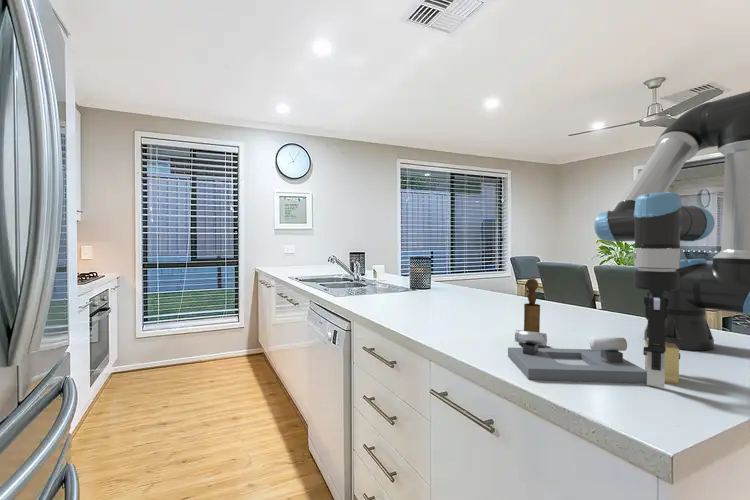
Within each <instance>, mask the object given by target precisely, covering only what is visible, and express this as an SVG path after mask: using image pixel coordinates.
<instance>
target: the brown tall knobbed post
mask: <svg viewBox="0 0 750 500" xmlns="http://www.w3.org/2000/svg"><path fill="white" fill-rule="evenodd" d="M525 282H526V283H525V286H526V288H527V290H528V295H527V300H528V303H524V306H523V307H524V308H523V309H524V313H523V314H524V315H523V331H531V332H539V333H541V332H540V331H541V330H540V328H541V327H540V326H541V324H540V323H541V320H540V319H541V304H538V303H536V301H537V294H536V291H537V289H538V287H539V283H538V280H537V279H536V278H528V279H527V281H525ZM523 344H525V343H521V342H518V345H519V346H521V347H523ZM538 348H546V346H542V345H538Z"/></svg>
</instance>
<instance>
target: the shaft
mask: <svg viewBox="0 0 750 500" xmlns="http://www.w3.org/2000/svg"><path fill="white" fill-rule="evenodd" d="M514 341H515V343H519V342H521V343H525V344H523V346H522V348H523V354H529V355H535V354H536V353H537V352H538V345H542V346H545V347H546V346H547V345H548V344H547V343H548V335H547V333H546V332H540V333H539V332H531V331H524V329H523V330H521V329H515V332H514Z"/></svg>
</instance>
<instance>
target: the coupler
mask: <svg viewBox="0 0 750 500" xmlns="http://www.w3.org/2000/svg"><path fill="white" fill-rule="evenodd" d="M644 341H645V344H644V347H648V340H644ZM653 345H658V344H653ZM665 348H666V351H665V383H666V382H668V384H673V383H675V384H674V385H680V384H679V383H680V381H679V380H680V376H679V374H680V360H681V353H680V349H679V348H678V347H677V345H676V344H675V343H668V342H665ZM642 354H643V356H644V370H646V371H647V352H646V351H644V348H643V350H642Z"/></svg>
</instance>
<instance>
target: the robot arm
mask: <svg viewBox="0 0 750 500" xmlns="http://www.w3.org/2000/svg"><path fill="white" fill-rule="evenodd" d="M654 145H655V146H654V147H655V150H654V151H653V153H652V154H651V156H650V157H649V159H648V160H647V162H646V163H645V165H644V166H643V167H642V169H641V170H640V171H639V172H638V175H637V176H636V177H635V179H634V180H633V182H632V183H631V185H629V188H627V191H625V193H624V194H623V195H622V197H621V199H620V200H619V202H618V204H617V205H616V206H615V207H614V208H613V210H607V211H603V212H600V213H598V214H597V216H596V217H595V219H594V224H593V225H594V226H593V229H594V232H595V235H596V236H597V237H598V239H599V240H602V241H605V242H606V241H607V242H617V243H618V242H634V246H633V247H634V252H631V254H630V258H635V259H634V261H633V263H634V266H633V267H635V268H637V269H636V270H635V271H633V287H635V288H636V289H639V290H646V291H647V290H648V292H647V294H646V296H644V297H643V307H644V308H645V309H644V311H645V312H644V313H645V319H646V320H647V323H646V327H645V329H644V334H643V336H644V337H643V339H644V341H645V340H648V347H645V346H643V349H644V351H646V352H647V383H646V385H647V386H652V387H658V388H665V385H666V384H665V383H666V382H665V351H666V348H665V342H668V343H675V344H676V345H677V347H678V348H679V350H689V351H710V350H711V351H712V350H713V349H714V348H715V339H714V337H713V334H712V331H711V328H710V326H709V323H708V320H707V319H706V318H707V317H706V316H707V314H706V311H707V310H714V311H720V312H728V313H736V314H737V313H738V314H744V315H745V316H746V315H747V316H750V90H749V91H746V92H742V93H738V94H735V95H732V96H731V95H730V96H726V97H723V98H721V99H717V100H712V101H709V102H704V103H702V104H701V103H700V104H699V105H697V106H695V107H692V108H691V109H690V110H688V111H686V112H684V113H683V114H682V115H680V116H679V117H678V118H677V119H675V120H674V121H673V122H671V124H670V125H669V126H668V127H667V128H665V129H664V131H663V132H662V133H661V134H660V136H659V137H658V138H657V140H656V142H655V143H654ZM715 147H717V152H718V153H719V154H721V155H722V156H724V173H723V174H724V177H723V199H722V200H723V201H722V202H723V203H722V223H721V224H722V225H721V244H720V245H721V250H719V252H718V253H717V254H715V255H714V256H712V264H709V263H708V262H707V260H706V259H705V258H690V259H681V242H695V241H700V240H703V239H705V238H707V237H708V236H710V235H711V233H712V232H713V230H714V228H715V225H716V222H715V218H714V215H713V214H712V213H711V212H710V211H709V210H708V209H705V208H703V207H699V206H696V205H682V200H681V195H680V194H679V193H677V192H670V191H669V192H667V191H668V190H669V188H670V187H671V185H672V183H673V182H674V180H675V179H676V177H677V176H678V175H679V172H680V171H681V170H682V168H683V167H684V165H685V164H686V162H687V161H689V160H692V159H693V158H694V157H695V156H696V154H697V153H698V152H699V151H701V150H705V149H709V148H715ZM653 344H658V345H653Z"/></svg>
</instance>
